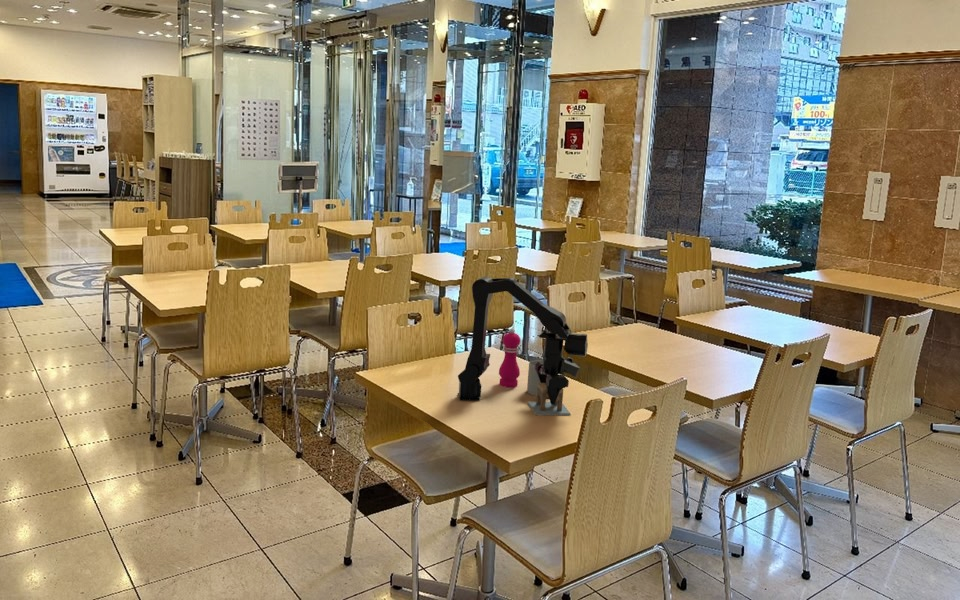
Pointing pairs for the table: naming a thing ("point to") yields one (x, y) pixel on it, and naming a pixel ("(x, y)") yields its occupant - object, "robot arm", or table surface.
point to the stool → (547, 397)
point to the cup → (533, 378)
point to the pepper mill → (510, 360)
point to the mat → (548, 409)
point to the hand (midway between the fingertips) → (549, 400)
